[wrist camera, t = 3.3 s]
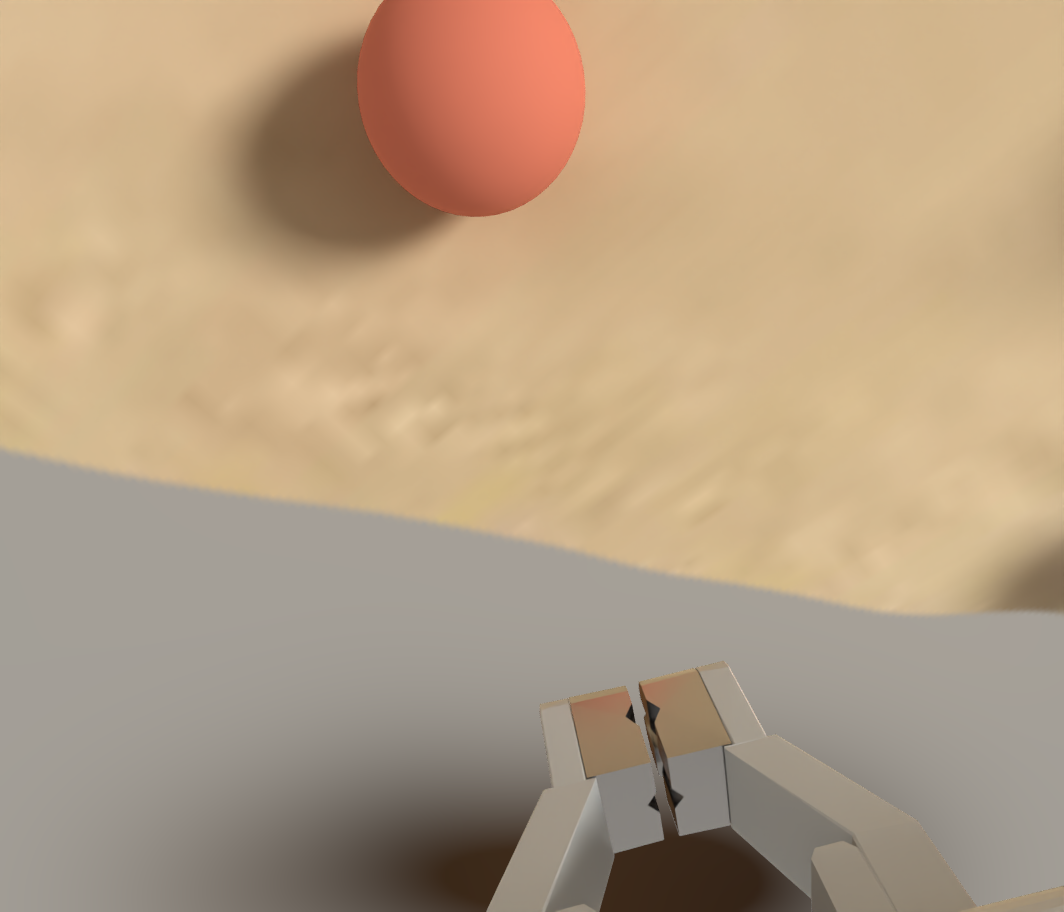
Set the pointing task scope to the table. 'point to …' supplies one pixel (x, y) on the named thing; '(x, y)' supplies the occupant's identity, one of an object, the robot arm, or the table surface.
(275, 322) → the table surface
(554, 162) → the ball
